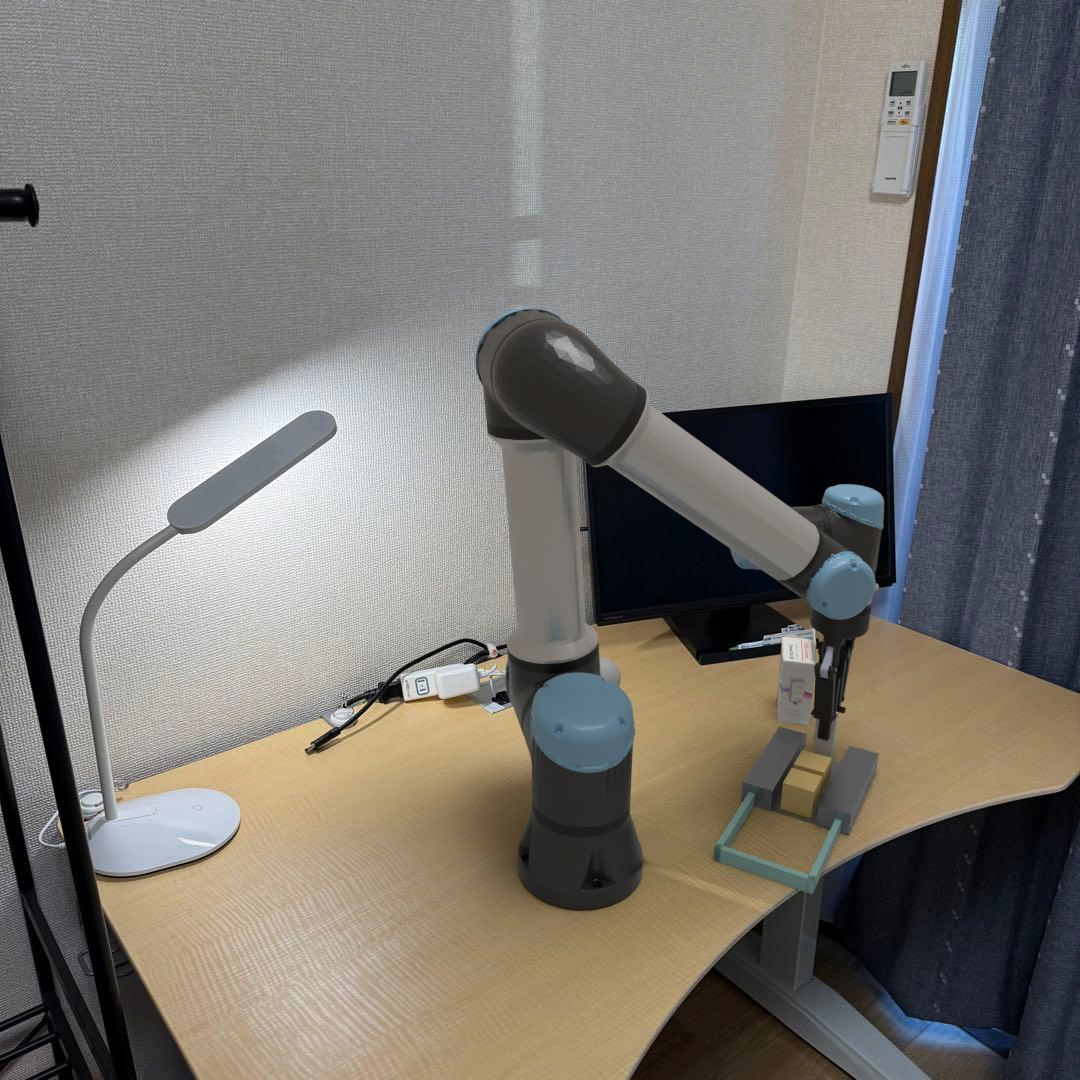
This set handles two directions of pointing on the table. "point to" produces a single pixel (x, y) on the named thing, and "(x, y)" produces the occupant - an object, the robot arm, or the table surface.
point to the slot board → (840, 794)
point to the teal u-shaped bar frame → (766, 867)
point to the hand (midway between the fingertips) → (823, 754)
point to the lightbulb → (609, 671)
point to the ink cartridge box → (796, 679)
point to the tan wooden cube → (801, 792)
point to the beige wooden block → (815, 766)
